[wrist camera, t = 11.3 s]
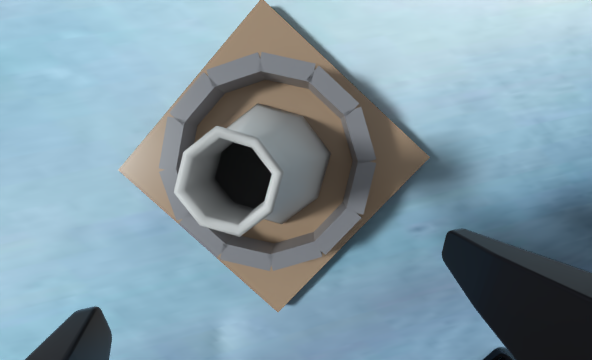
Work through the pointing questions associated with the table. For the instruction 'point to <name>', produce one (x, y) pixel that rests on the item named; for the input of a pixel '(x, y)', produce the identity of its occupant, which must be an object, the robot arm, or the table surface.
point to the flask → (252, 171)
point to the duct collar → (326, 124)
